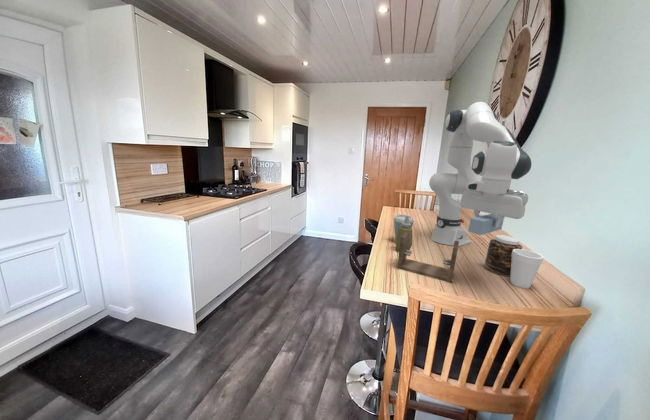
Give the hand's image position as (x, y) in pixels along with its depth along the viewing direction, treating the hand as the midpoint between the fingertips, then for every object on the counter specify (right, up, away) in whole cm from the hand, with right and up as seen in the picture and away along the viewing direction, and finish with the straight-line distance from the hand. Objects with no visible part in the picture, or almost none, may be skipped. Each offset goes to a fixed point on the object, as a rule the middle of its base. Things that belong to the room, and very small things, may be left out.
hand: (486, 224), depth 92 cm
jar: (+18, -22, +18) cm, 33 cm away
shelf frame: (-17, -20, +14) cm, 30 cm away
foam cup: (+18, -24, +7) cm, 31 cm away
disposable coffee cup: (-18, -13, +46) cm, 51 cm away
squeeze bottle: (-20, -15, +35) cm, 43 cm away
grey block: (0, -2, 0) cm, 2 cm away
